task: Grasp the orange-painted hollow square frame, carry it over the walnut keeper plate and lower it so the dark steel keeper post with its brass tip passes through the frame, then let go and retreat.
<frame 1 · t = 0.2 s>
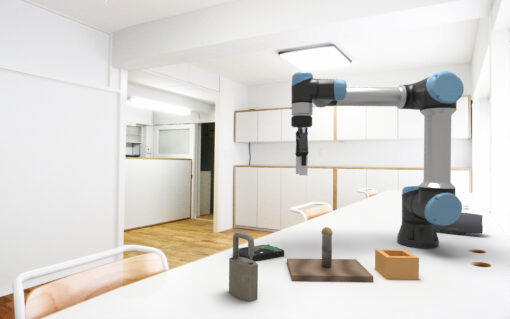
hand: (301, 174, 122), 28 cm above the table, fingers open, 13 cm apart
keeper: (326, 271, 99), on the table
bluetooth speaker: (452, 233, 157), on the table
hollow square frame: (395, 273, 98), on the table
padlock: (242, 295, 81), on the table
disk drive: (258, 257, 115), on the table
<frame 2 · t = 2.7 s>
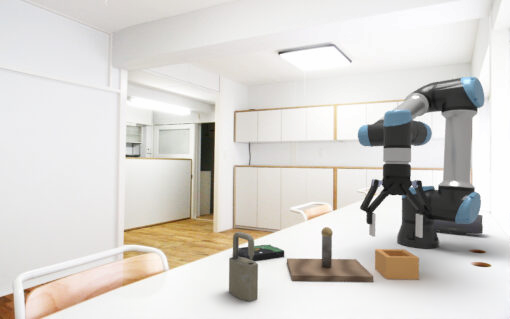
hand: (395, 236, 98), 11 cm above the table, fingers open, 13 cm apart
nothing on the table moved.
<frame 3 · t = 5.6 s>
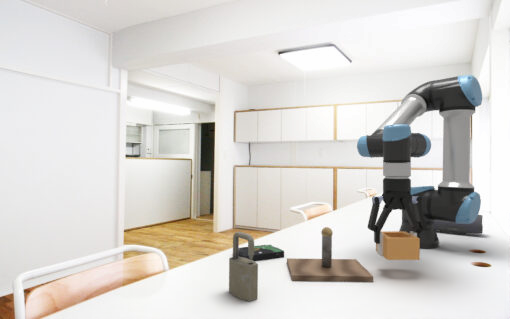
hand: (396, 254, 98), 6 cm above the table, fingers closed on hollow square frame, 9 cm apart
hollow square frame: (396, 255, 98), point 5 cm above the table, touching gripper
everything else where it was.
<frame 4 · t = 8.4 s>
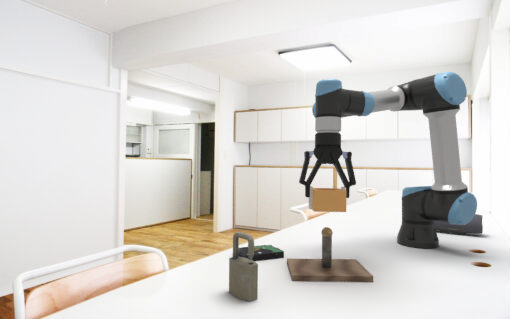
hand: (326, 208, 99), 19 cm above the table, fingers closed on hollow square frame, 9 cm apart
hollow square frame: (326, 209, 99), point 18 cm above the table, touching gripper
everything else where it was.
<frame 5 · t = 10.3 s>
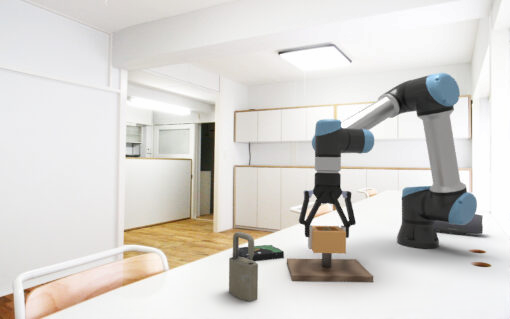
hand: (326, 248, 99), 7 cm above the table, fingers closed on hollow square frame, 9 cm apart
hollow square frame: (326, 249, 99), point 7 cm above the table, touching gripper
everything else where it was.
when the fingers open (3 cm above the table, at t = 11.5 s): hollow square frame drops 2 cm, resting on keeper.
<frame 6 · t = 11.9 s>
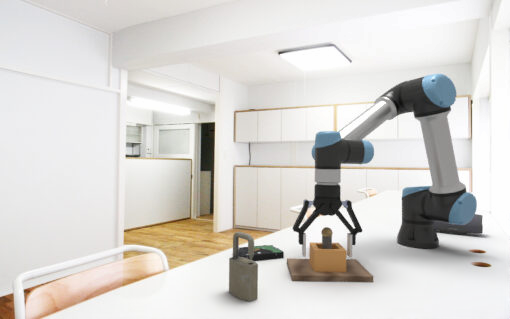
hand: (326, 255, 99), 5 cm above the table, fingers open, 13 cm apart
hollow square frame: (327, 266, 99), point 1 cm above the table, touching keeper
everything else where it was.
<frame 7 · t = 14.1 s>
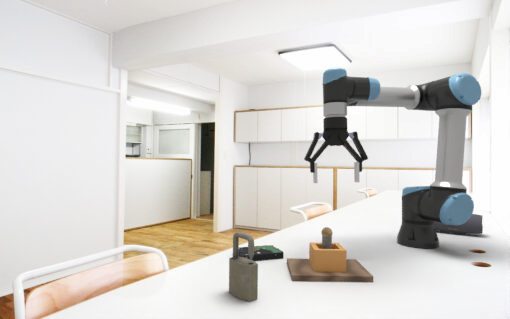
hand: (336, 182, 109), 26 cm above the table, fingers open, 13 cm apart
nothing on the table moved.
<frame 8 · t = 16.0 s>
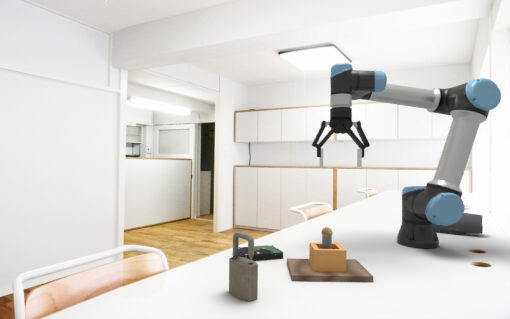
hand: (340, 167, 120), 31 cm above the table, fingers open, 13 cm apart
at the end: hollow square frame 0.1 cm off-centre on the keeper, point 1.5 cm above the keeper's base; the gripper is holding nothing; hollow square frame tilted 0° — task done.
